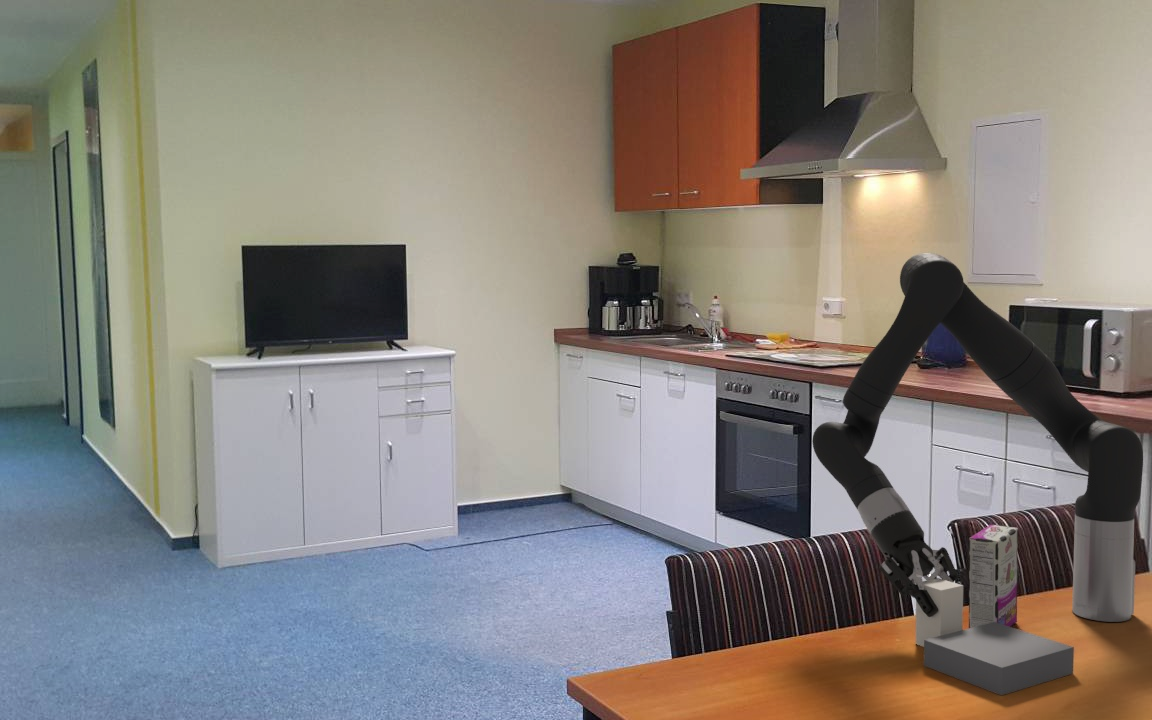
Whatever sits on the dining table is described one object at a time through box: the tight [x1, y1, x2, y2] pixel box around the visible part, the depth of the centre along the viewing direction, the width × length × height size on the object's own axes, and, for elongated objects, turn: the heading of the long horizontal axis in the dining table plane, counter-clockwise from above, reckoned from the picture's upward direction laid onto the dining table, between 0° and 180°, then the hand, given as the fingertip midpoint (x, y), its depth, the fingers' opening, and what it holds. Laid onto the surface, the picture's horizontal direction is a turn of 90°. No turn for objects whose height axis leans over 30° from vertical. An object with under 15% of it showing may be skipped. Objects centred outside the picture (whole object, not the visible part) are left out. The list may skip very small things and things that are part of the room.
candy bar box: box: [968, 524, 1019, 629], centre depth 186 cm, size 11×5×16 cm, turn 143°
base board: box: [923, 622, 1075, 696], centre depth 168 cm, size 16×14×4 cm
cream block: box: [915, 577, 964, 648], centre depth 178 cm, size 5×5×10 cm
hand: (946, 611), depth 177 cm, fingers closed on cream block, 5 cm apart
